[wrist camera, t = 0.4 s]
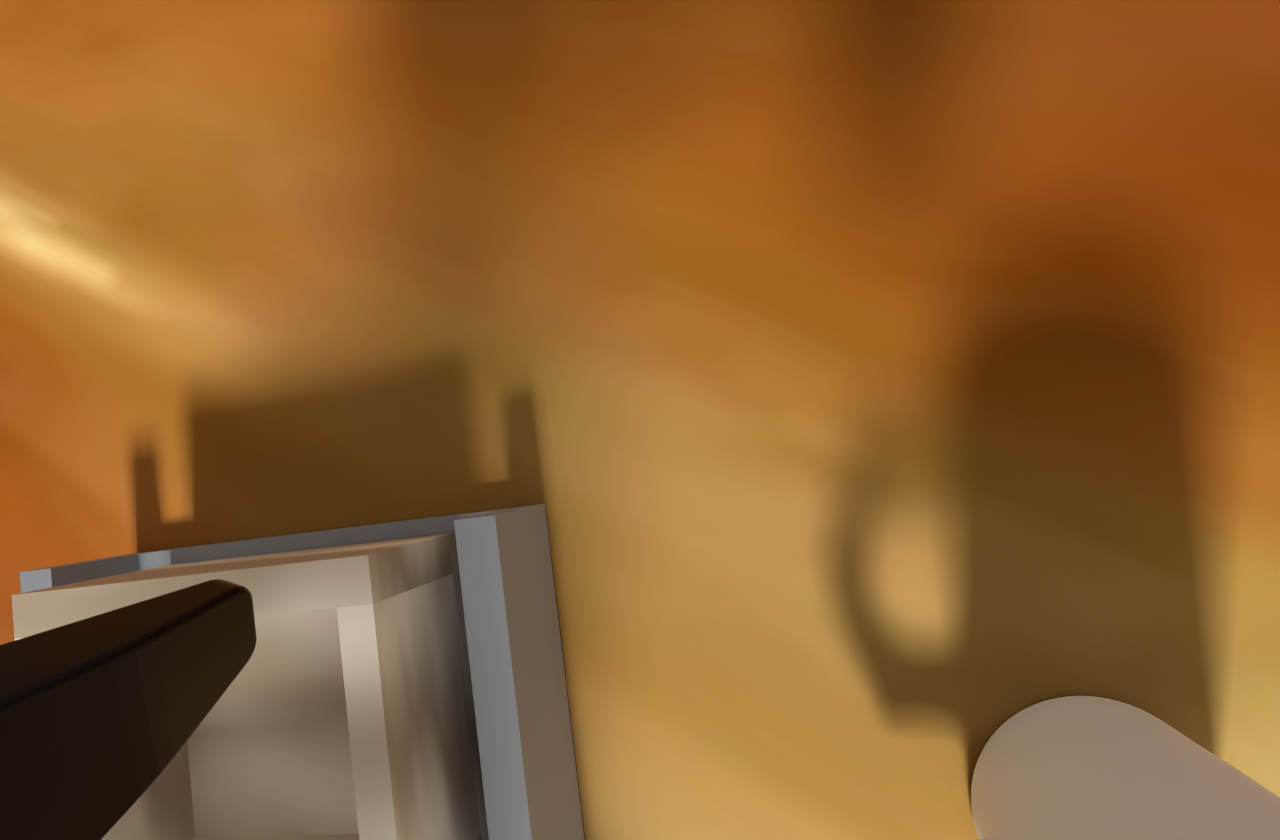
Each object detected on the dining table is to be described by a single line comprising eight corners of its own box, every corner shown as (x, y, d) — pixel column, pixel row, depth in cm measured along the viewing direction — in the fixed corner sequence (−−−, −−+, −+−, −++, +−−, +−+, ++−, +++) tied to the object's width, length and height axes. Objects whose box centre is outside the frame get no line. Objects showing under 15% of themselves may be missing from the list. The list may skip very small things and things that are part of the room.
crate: (496, 856, 21) (411, 979, 16) (192, 862, 23) (37, 971, 19) (460, 530, 22) (367, 555, 17) (168, 564, 24) (11, 595, 19)
